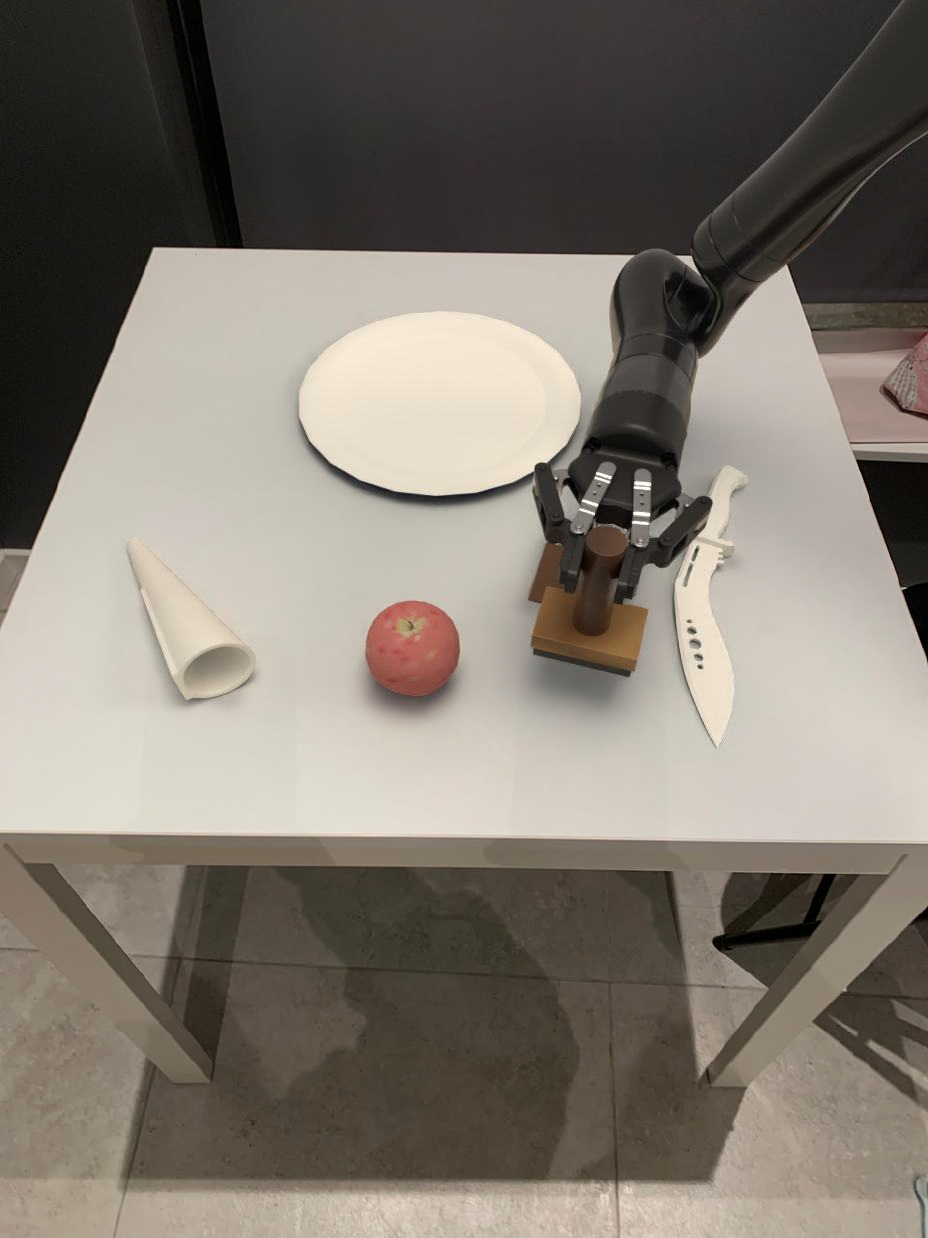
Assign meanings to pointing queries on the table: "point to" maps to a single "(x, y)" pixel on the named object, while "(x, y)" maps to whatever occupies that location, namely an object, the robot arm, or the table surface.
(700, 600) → the knife
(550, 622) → the wooden handled stamp
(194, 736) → the table surface
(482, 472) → the plate
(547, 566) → the brown flat block
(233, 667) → the long cone
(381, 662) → the apple
